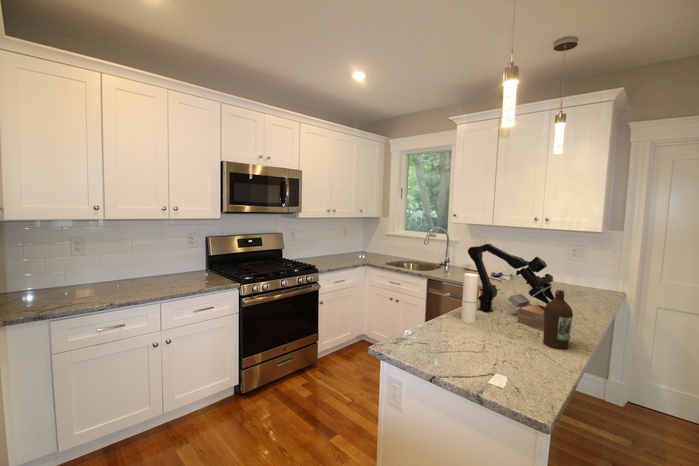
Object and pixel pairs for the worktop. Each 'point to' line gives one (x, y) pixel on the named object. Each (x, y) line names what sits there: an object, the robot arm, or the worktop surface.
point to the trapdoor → (524, 303)
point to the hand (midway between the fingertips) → (552, 302)
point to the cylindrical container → (469, 297)
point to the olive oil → (557, 322)
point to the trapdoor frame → (531, 318)
